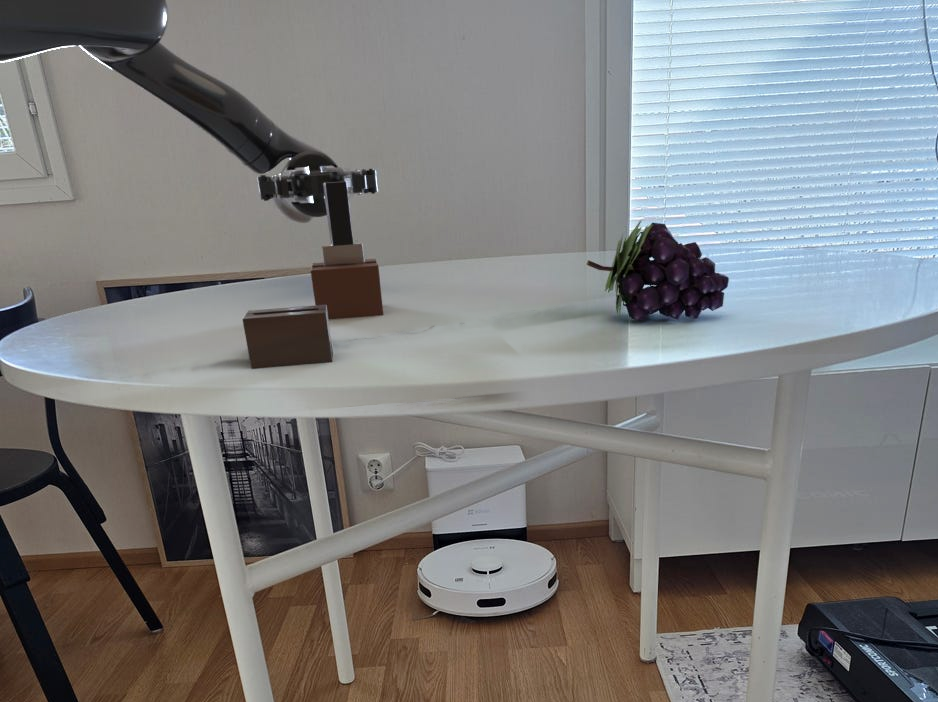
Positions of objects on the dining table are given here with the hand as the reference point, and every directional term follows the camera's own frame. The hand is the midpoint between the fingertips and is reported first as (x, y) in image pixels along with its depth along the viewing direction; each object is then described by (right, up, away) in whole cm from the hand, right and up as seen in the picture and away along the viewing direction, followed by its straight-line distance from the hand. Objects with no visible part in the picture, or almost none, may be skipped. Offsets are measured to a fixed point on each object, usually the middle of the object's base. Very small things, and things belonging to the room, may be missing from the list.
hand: (322, 184), depth 99 cm
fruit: (+37, -18, -7) cm, 42 cm away
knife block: (+1, -28, -20) cm, 34 cm away
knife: (+4, -17, -2) cm, 17 cm away
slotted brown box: (+4, -17, -1) cm, 18 cm away
